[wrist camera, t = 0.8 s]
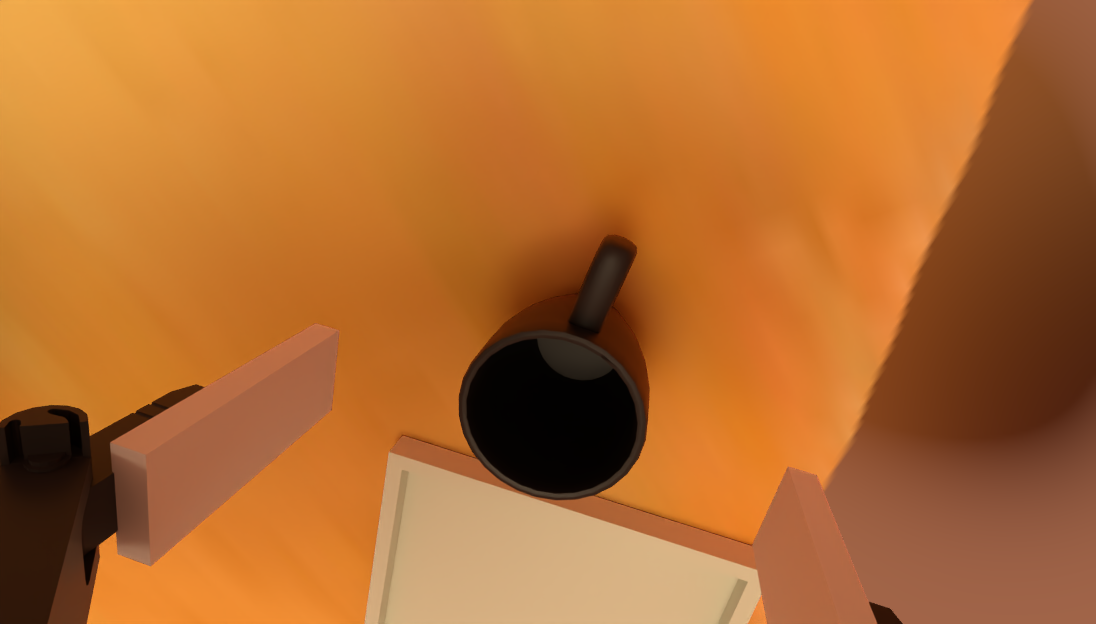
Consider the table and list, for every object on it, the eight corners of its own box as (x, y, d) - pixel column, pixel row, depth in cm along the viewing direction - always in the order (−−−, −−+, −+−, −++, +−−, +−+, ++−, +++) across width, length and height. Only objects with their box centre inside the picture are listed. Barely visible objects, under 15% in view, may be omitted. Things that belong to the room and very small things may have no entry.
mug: (709, 244, 30) (727, 297, 21) (617, 424, 34) (600, 530, 25) (566, 182, 30) (525, 209, 21) (493, 368, 35) (433, 453, 26)
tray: (370, 646, 45) (357, 669, 43) (402, 435, 38) (388, 451, 36) (670, 755, 42) (670, 784, 40) (765, 550, 35) (771, 574, 33)
